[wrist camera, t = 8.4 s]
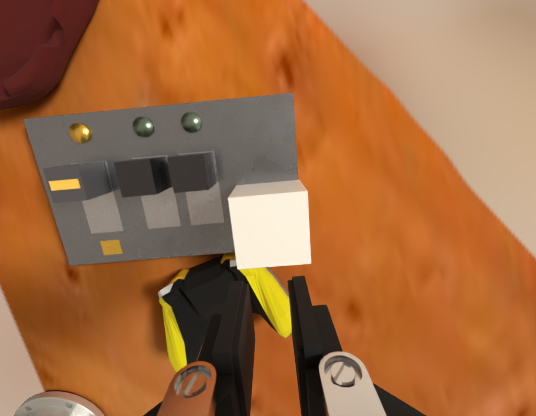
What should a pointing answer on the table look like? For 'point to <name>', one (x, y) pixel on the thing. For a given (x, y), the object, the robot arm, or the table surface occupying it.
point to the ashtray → (37, 45)
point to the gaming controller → (216, 304)
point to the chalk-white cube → (270, 224)
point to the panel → (114, 140)
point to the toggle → (77, 182)
